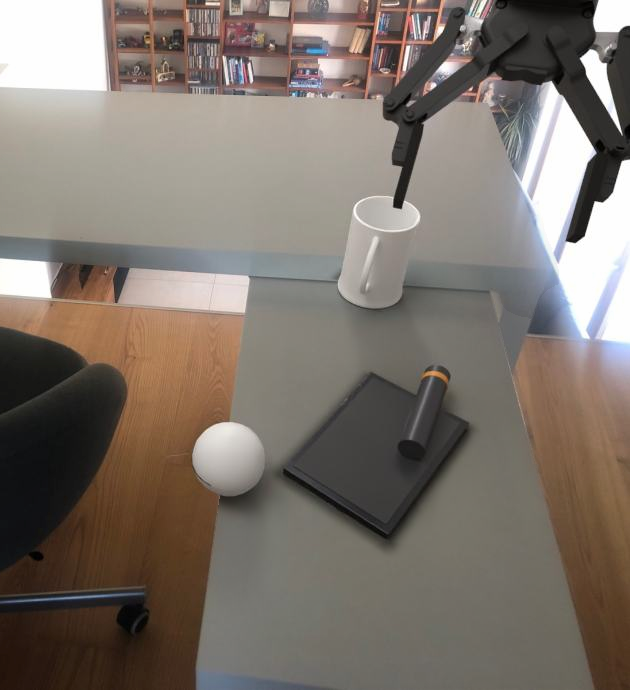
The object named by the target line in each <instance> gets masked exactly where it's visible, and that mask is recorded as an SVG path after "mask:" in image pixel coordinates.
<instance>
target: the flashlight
mask: <svg viewBox="0 0 630 690" xmlns="http://www.w3.org/2000/svg"><path fill="white" fill-rule="evenodd" d="M451 377H452V375H451V373H450V370H448V369H447V368H446V367H445V366H442V365H438V364H431V365H429V366H427V367H426V368H425V370H424V372H423V375H422V376H421V379H420V383H419V386H418V389H417V391H416V394H415V395H416V396H415V399H414V402H413V405H412V407H411V410H410V413H409V415H408V418H407V421H406V424H405V426H404V429H403V432H402V434H401V437H400V440H399V443H398V450H399V451H400V453H401V454H403V455H404V456H406V457H408V458H411V459H420V458H422V457H424V456H425V454H426V451H427V448H428V445H429V442H430V439H431V435H432V432H433V429H434V426H435V423H436V420H437V417H438V414H439V411H440V408H442V404H443V402H444V399H445V396H446V393H447V391H448V388H449V385H450V380H451Z"/></svg>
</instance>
